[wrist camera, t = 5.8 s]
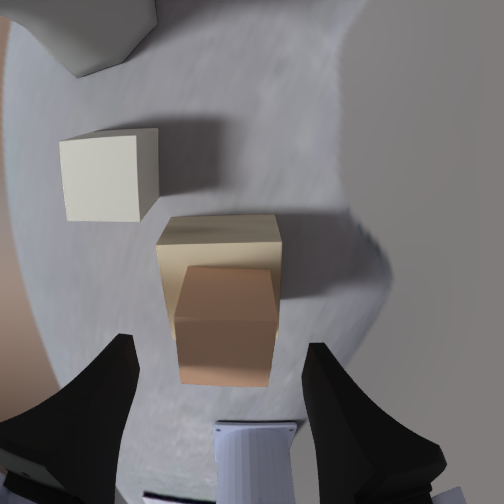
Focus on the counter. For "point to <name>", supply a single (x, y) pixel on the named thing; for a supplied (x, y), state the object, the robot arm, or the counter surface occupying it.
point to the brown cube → (226, 327)
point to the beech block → (217, 250)
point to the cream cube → (110, 174)
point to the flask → (84, 29)
